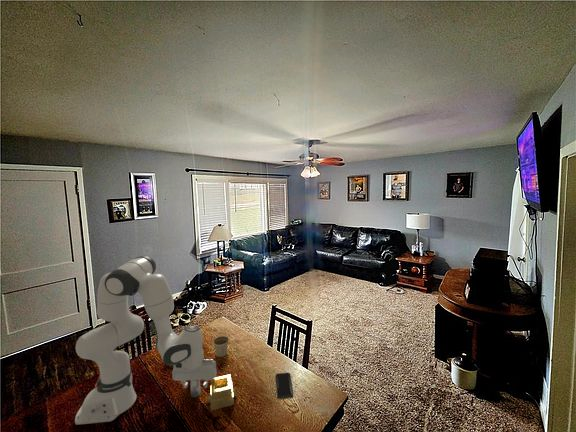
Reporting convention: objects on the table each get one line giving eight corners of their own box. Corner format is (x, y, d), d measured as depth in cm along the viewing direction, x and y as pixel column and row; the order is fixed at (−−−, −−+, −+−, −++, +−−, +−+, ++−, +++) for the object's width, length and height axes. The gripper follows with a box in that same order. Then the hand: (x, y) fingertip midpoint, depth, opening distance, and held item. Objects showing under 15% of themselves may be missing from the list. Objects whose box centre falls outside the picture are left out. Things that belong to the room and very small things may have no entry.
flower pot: (222, 347, 156) (222, 334, 155) (232, 352, 151) (232, 339, 150) (210, 355, 148) (209, 341, 148) (220, 361, 143) (219, 347, 142)
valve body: (207, 411, 110) (206, 394, 109) (207, 394, 120) (207, 378, 119) (237, 403, 114) (236, 387, 113) (235, 387, 123) (234, 372, 123)
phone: (290, 372, 132) (293, 395, 117) (290, 374, 132) (293, 397, 118) (275, 373, 132) (276, 396, 117) (275, 375, 132) (276, 399, 117)
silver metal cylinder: (190, 398, 117) (189, 380, 116) (191, 391, 121) (190, 374, 121) (200, 396, 119) (199, 378, 118) (200, 389, 123) (199, 372, 122)
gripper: (217, 355, 121) (219, 381, 122) (176, 355, 121) (177, 382, 122) (213, 363, 114) (215, 391, 116) (169, 364, 115) (171, 392, 116)
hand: (195, 387), depth 119 cm, fingers open, 8 cm apart
